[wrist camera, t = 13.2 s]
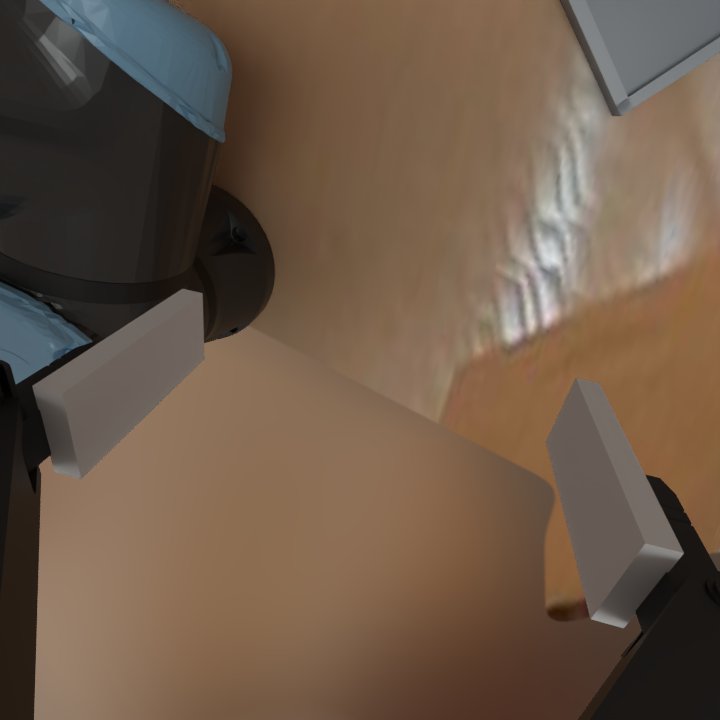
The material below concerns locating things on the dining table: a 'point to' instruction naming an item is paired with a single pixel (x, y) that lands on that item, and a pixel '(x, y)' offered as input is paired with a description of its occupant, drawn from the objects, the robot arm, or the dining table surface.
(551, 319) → the dining table surface
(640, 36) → the tray
